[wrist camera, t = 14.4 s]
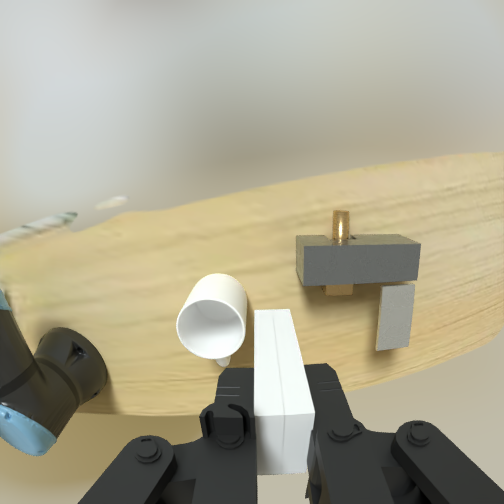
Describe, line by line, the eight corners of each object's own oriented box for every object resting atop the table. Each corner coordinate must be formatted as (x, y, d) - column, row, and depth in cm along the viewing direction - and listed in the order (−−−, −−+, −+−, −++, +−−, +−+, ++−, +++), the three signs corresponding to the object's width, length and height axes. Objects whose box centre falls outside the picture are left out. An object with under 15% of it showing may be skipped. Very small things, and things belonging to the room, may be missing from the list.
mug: (254, 341, 47) (254, 379, 37) (203, 346, 47) (191, 384, 37) (242, 268, 44) (239, 294, 34) (187, 275, 45) (169, 302, 34)
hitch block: (295, 269, 44) (303, 286, 37) (296, 235, 43) (303, 246, 36) (396, 266, 44) (417, 280, 37) (398, 234, 43) (420, 243, 36)
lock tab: (375, 348, 38) (377, 350, 38) (380, 285, 38) (382, 286, 37) (406, 344, 38) (408, 346, 38) (412, 283, 37) (414, 284, 37)
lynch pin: (347, 289, 45) (352, 294, 42) (322, 289, 45) (325, 295, 43) (352, 210, 42) (357, 212, 40) (325, 210, 42) (329, 211, 40)
